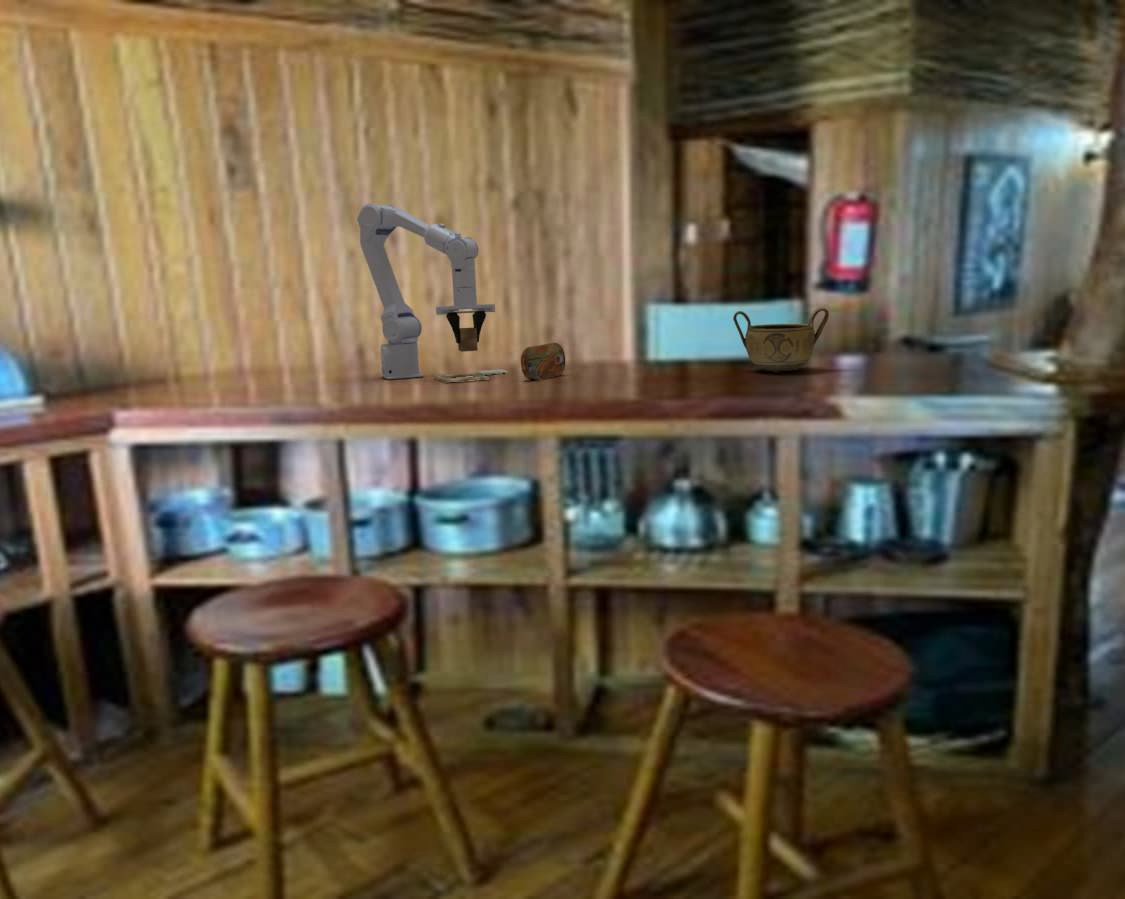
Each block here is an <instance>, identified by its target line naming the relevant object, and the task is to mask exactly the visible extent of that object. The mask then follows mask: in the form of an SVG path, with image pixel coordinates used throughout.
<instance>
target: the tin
mask: <svg viewBox="0 0 1125 899" xmlns="http://www.w3.org/2000/svg"><path fill="white" fill-rule="evenodd" d="M520 367H521V368H520V369H521V371H522V374H523V375H524V377H525V378H526V379H528V380H530V379H532V380H531V381H541V380H540V379H543V380H546V379H545V378H547V379H551V378H550V377H552V378H556V377H555V376H557V377H560V376H561V375H562V373H563V372H564V371H565V367H566V354H565V350H564V349H563V346H562V345H560V344H559V343H556V342H550V343H545V344H539V345H532V346H527V347H526V348H524V350H523V351H522V353H521V356H520Z"/></svg>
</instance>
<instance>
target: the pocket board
mask: <svg viewBox="0 0 1125 899" xmlns="http://www.w3.org/2000/svg"><path fill="white" fill-rule="evenodd" d="M466 376H473V377H468V378H456V377H466ZM435 378H436V379H435ZM451 378H455V379H451ZM434 379H435V380H437V379H438V380H437V381H439V380H440V381H439V382H441V381H443V382H445V383H447V382H460V381H469V380H489V381H490V377H489V376H485V375H482V374H480V373H476V372H470V373H456V374H454V373H453V374H442V375H441V374H439V375H434ZM443 382H442V383H443ZM445 383H444V384H445Z"/></svg>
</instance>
